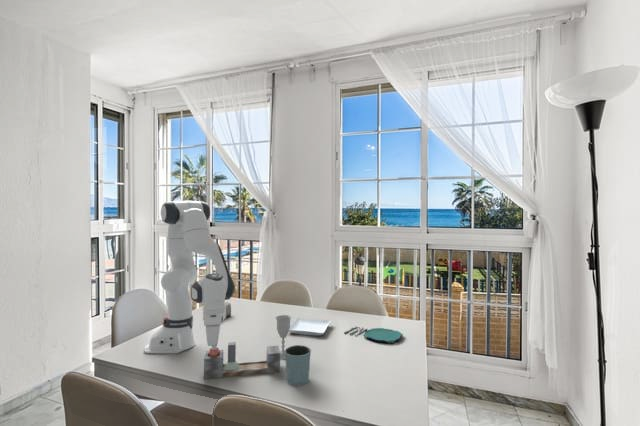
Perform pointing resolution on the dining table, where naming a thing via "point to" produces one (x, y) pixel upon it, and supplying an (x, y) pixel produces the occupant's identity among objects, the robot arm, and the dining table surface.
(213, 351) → the button
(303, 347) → the blue-grey cup
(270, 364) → the rail
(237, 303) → the dining table surface
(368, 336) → the cutlery set
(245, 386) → the dining table surface
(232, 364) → the carriage
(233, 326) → the dining table surface
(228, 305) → the food item
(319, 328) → the salad plate
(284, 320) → the chalice
